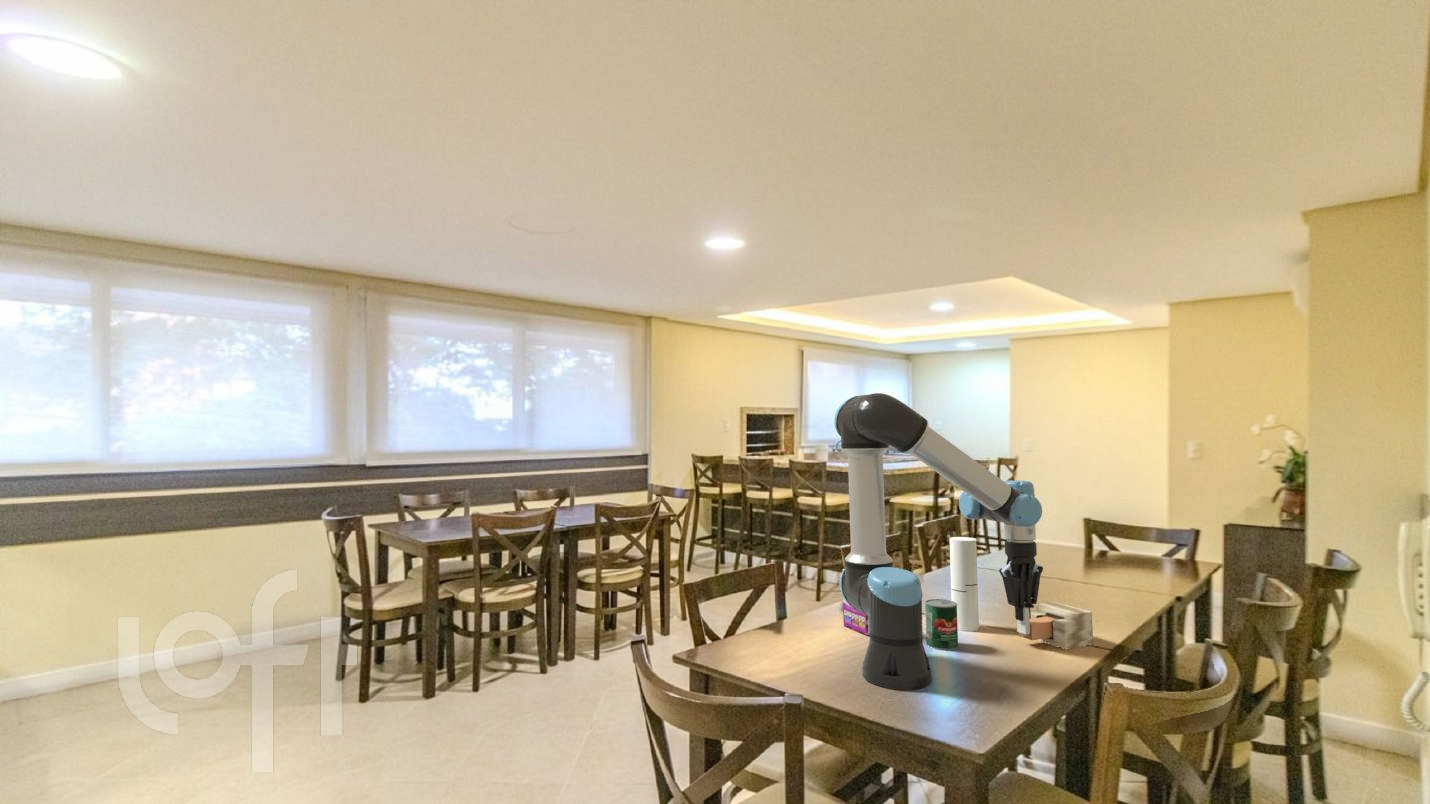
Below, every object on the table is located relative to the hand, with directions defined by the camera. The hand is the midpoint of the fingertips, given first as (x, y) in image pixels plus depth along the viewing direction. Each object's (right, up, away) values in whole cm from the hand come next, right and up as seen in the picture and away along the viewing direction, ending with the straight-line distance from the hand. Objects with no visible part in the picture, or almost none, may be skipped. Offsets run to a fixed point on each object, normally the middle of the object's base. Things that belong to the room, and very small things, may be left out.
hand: (1023, 632), depth 168 cm
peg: (+5, -2, +2) cm, 6 cm away
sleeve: (+12, -4, +4) cm, 13 cm away
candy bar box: (-38, -5, +16) cm, 42 cm away
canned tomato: (-21, -4, +1) cm, 21 cm away
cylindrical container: (-8, -5, +17) cm, 19 cm away
